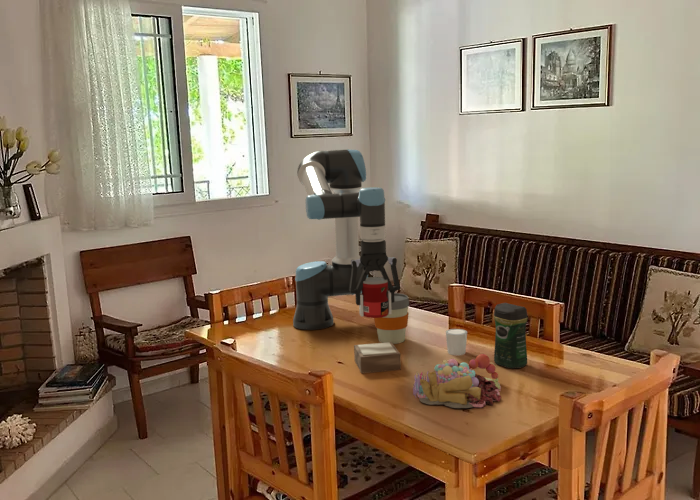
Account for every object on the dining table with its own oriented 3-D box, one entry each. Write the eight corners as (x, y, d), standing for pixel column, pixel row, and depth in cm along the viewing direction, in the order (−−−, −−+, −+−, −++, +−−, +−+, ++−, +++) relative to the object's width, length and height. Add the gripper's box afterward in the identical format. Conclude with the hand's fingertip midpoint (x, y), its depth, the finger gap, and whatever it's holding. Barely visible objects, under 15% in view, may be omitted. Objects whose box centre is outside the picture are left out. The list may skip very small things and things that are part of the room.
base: (354, 360, 215) (353, 344, 214) (391, 357, 217) (391, 341, 216) (361, 373, 203) (360, 356, 202) (400, 369, 205) (400, 352, 204)
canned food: (386, 318, 203) (385, 282, 201) (360, 318, 204) (359, 282, 203) (390, 311, 210) (389, 276, 208) (364, 311, 212) (363, 276, 210)
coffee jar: (531, 365, 205) (532, 305, 201) (513, 371, 200) (513, 309, 197) (507, 357, 212) (507, 299, 209) (489, 363, 208) (489, 303, 205)
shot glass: (469, 350, 221) (469, 329, 220) (464, 357, 215) (464, 335, 213) (449, 348, 224) (449, 327, 222) (443, 354, 217) (442, 333, 216)
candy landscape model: (504, 413, 172) (504, 378, 171) (410, 410, 176) (409, 376, 174) (499, 378, 196) (499, 347, 195) (416, 376, 200) (416, 345, 199)
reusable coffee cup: (391, 347, 226) (390, 303, 224) (365, 340, 236) (364, 297, 233) (417, 339, 234) (416, 296, 232) (391, 332, 244) (390, 291, 241)
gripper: (340, 243, 198) (343, 320, 202) (410, 239, 202) (411, 314, 205) (336, 240, 206) (339, 313, 209) (404, 236, 209) (405, 308, 213)
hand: (375, 314), depth 207 cm, fingers closed on canned food, 8 cm apart
